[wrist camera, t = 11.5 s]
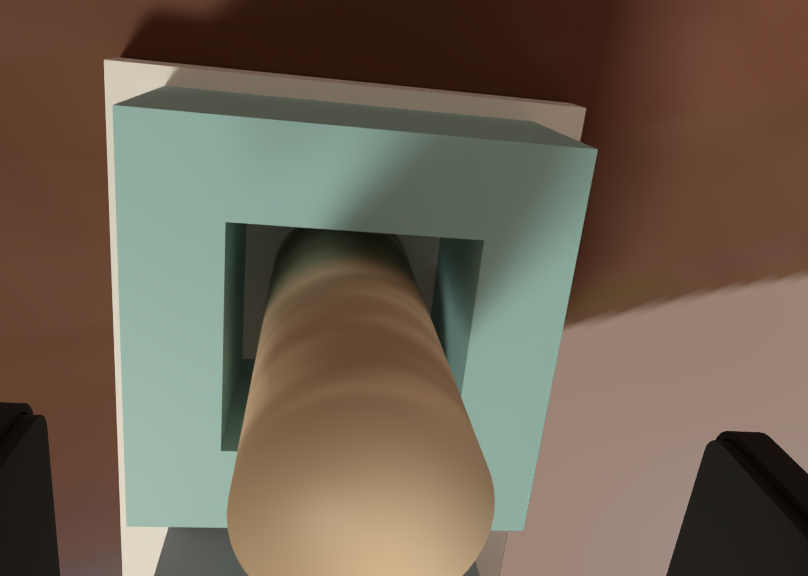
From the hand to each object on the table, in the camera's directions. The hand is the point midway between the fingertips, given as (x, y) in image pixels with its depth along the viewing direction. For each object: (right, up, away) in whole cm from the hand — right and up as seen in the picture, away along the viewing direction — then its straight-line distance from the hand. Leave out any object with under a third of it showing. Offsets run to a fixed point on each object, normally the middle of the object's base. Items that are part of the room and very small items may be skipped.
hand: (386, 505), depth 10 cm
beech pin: (-2, +3, +11) cm, 11 cm away
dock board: (-3, -3, +15) cm, 15 cm away
